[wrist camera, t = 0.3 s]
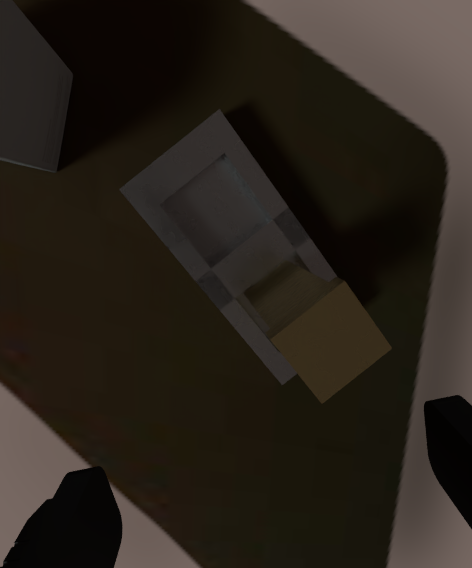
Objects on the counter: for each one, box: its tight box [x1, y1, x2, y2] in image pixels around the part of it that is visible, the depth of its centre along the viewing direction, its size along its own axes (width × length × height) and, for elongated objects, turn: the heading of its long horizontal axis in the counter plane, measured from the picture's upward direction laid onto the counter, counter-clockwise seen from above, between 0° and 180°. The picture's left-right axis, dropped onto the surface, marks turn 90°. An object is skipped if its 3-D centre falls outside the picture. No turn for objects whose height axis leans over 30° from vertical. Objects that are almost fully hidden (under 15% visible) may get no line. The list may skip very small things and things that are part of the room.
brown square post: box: [244, 260, 392, 403], centre depth 27 cm, size 5×5×11 cm
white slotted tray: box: [119, 109, 337, 385], centre depth 31 cm, size 20×9×3 cm, turn 38°
